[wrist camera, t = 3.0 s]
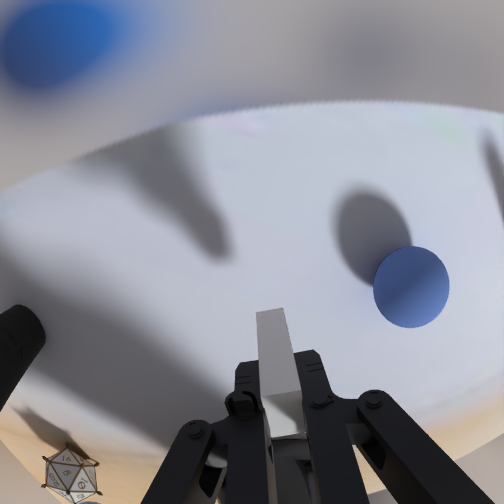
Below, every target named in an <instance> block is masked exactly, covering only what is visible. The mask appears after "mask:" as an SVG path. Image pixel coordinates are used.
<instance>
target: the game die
mask: <svg viewBox="0 0 504 504" xmlns="http://www.w3.org/2000/svg"><path fill="white" fill-rule="evenodd" d="M65 446H66V448H65V449H63V450H61V451H60V452H58V453H56V454H54V455H53V456H51V457H49V458H46V457H45V456H42V457H43V459H44V460H45V461H46V484H43V485H42V486H41V487H43V488H46V486H47V487H49V488H50V489H52V490H53V491H55V492H57V493H58V494H60V495H61V496H63V497H65V498H66V499H68V500H70V501H72V502H73V503H74V504H76V503H77V502H79V501H81V500H83V499H85V498H87V497H89V496H91V495H93V494H95V493H97V494H99V495H103V494H102V493H101V492H100V491H97V482H96V472H95V467H97V466H99V464H100V463H96V464H94V465H93V464H92V463H90V462H88V461H87V460H85V459H84V458H82V457H81V456H79V455H78V454H76V453H75V452H73V451H72V450H71V449H69V448H68V447H69V444H68V442H66V444H65Z"/></svg>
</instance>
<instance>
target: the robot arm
mask: <svg viewBox="0 0 504 504" xmlns="http://www.w3.org/2000/svg"><path fill="white" fill-rule="evenodd" d="M256 320H257V338H258V357H259V360H255V361H248V362H241V363H240V364H239V365H238V367H237V368H236V370H235V389H234V392H232V393H230V394H229V395H228V396H227V397H226V399H225V402H224V403H225V405H226V408H227V411H228V413H229V416H228V417H226V418H225V419H223V420H221V421H219V422H216V423H213V424H209V423H208V422H207V421H203V420H193V421H190V422H188V423H186V424H185V425H183V427H182V428H181V429H180V431H179V433H178V435H177V437H176V439H175V440H174V442H173V444H172V446H171V448H170V450H169V452H168V454H167V456H166V457H165V459H164V461H163V463H162V465H161V467H160V469H159V470H158V472H157V474H156V476H155V478H154V480H153V482H152V483H151V485H150V487H149V489H148V491H147V493H146V495H145V496H144V498H143V500H142V502H141V504H215V502H216V499H217V501H218V504H370V503H369V500H368V497H367V493H366V490H365V486H364V483H363V479H362V476H361V473H360V470H359V466H358V463H357V460H356V457H355V453H354V450H353V447H352V445H356V447H357V448H358V449H359V451H360V452H361V454H362V455H363V456H364V458H365V459H366V461H367V462H368V463H369V465H370V466H371V467H372V469H373V470H374V472H375V473H376V474H377V476H378V477H379V478H380V480H381V481H382V483H383V484H384V485H385V487H386V488H387V489H388V491H389V492H390V493H391V495H392V496H393V497H394V499H395V500H396V501H397V503H398V504H495V503H494V502H493V501H492V500H491V499H490V498H489V497H488V496H487V495H486V494H485V493H484V492H483V491H482V490H481V489H480V488H479V487H478V486H477V485H476V484H475V483H474V482H473V481H472V480H471V479H470V478H469V477H468V476H467V475H466V473H464V471H462V469H461V468H460V467H459V466H458V465H457V464H456V463H455V462H454V461H453V460H452V459H451V458H450V457H449V456H448V455H447V454H446V453H445V452H444V451H443V450H442V449H441V448H440V447H439V446H438V445H437V444H436V443H435V442H434V441H433V440H432V439H431V438H430V437H429V436H428V434H427V433H426V432H425V431H424V430H423V429H422V428H421V427H420V426H419V425H418V424H417V423H416V422H415V421H414V420H413V419H412V418H411V417H410V416H409V415H408V414H407V413H406V412H405V411H404V410H403V409H402V408H401V407H400V406H399V405H398V404H397V403H396V402H395V401H394V400H393V399H392V397H391V396H390V395H389V394H387V393H386V392H384V391H381V390H369V391H366V392H364V393H363V394H362V395H360V397H359V398H358V399H344V398H340V397H338V396H336V395H335V394H334V393H333V392H332V390H331V387H330V384H329V381H328V378H327V375H326V372H325V370H324V367H323V364H322V361H321V358H320V355H319V354H318V353H317V352H316V351H314V350H313V349H312V350H308V351H303V352H297V353H293V350H292V345H291V341H290V336H289V332H288V327H287V323H286V318H285V314H284V310H283V308H279V309H273V310H267V311H262V312H256ZM303 432H306V434H307V440H278V441H271V438H272V437H279V436H285V435H291V434H297V433H303ZM80 504H100V503H97V502H83V503H80Z"/></svg>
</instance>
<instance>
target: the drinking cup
mask: <svg viewBox="0 0 504 504" xmlns="http://www.w3.org/2000/svg"><path fill="white" fill-rule="evenodd" d="M44 343H45V333H44V329H43V327H42V325H41V323H40V321H39V320H38V318H37V317H36V315H35V314H34V313H33V312H32V311H31V310H29V309H28V308H26V307H25V306H22V305H15V306H13V307H12V308H10V309H8V310H6V311H5V312H3V313H1V314H0V412H1V410H2V408H3V406H4V405H5V403H6V401H7V400H8V398H9V397H10V395H11V393H12V392H13V390H14V389H15V387H16V385H17V384H18V382H19V381H20V379H21V378H22V376H23V375H24V373H25V372H26V370H27V369H28V367H29V366H30V364H31V363H32V361H33V360H34V358H35V357H36V355H37V354H38V353H39V351H40V350H41V348H42V347H43V346H44Z"/></svg>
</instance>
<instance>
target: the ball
mask: <svg viewBox="0 0 504 504" xmlns="http://www.w3.org/2000/svg"><path fill="white" fill-rule="evenodd" d="M373 292H374V299H375V302H376V305H377V307H378V309H379V310H380V312H381V314H382V315H383V316H384V317H385V318H386V319H387V320H388V321H390V322H391V323H393V324H395V325H397V326H400V327H405V328H415V327H420V326H423V325H425V324H427V323H429V322H431V321H432V320H434V319H435V318H436V317H437V316H438V315H439V314H440V312H441V311H442V310H443V308H444V306H445V304H446V302H447V299H448V294H449V277H448V273H447V270H446V268H445V266H444V264H443V263H442V261H441V260H440V259H439V258H438V257H437V256H436V255H435V254H434V253H432V252H431V251H429V250H427V249H425V248H421V247H415V246H410V247H404V248H400V249H398V250H396V251H394V252H392V253H391V254H389V255H388V256H387V257H386V258H385V259H384V260H383V262H382V263H381V264H380V266H379V268H378V270H377V272H376V275H375V278H374V284H373Z"/></svg>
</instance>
